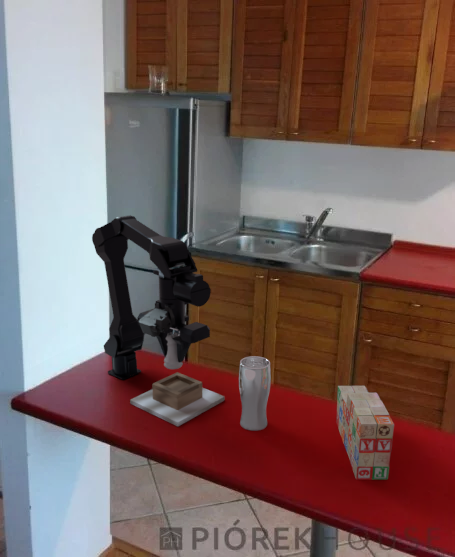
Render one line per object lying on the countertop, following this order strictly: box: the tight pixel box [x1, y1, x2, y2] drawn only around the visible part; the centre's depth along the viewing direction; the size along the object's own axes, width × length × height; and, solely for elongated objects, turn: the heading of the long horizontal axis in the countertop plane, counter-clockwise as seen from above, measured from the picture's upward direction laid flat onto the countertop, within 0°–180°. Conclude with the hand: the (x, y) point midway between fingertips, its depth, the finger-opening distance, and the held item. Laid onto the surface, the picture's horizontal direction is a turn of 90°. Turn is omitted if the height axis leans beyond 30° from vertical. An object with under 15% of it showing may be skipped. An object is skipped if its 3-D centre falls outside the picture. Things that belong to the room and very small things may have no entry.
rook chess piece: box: [163, 331, 184, 370], centre depth 134 cm, size 4×4×8 cm
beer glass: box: [238, 355, 272, 432], centre depth 127 cm, size 7×7×15 cm
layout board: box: [129, 371, 226, 427], centre depth 137 cm, size 16×16×5 cm
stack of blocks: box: [335, 385, 395, 481], centre depth 118 cm, size 21×6×12 cm, turn 0°
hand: (173, 359), depth 135 cm, fingers closed on rook chess piece, 4 cm apart
